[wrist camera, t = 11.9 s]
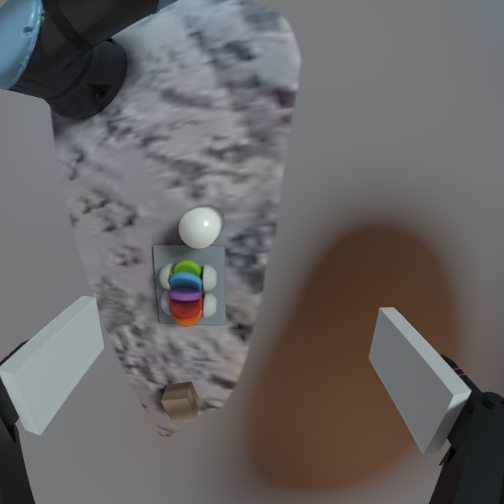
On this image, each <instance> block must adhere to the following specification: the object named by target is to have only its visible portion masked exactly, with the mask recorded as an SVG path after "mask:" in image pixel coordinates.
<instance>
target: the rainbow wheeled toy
mask: <svg viewBox="0 0 504 504" xmlns="http://www.w3.org/2000/svg"><path fill="white" fill-rule="evenodd" d="M159 281H160V284H161V285H162V286H163V287H164V288H165V289H167V291H165V292H164V293H163V294H162V296H161V308H162V309H163V311H164V312H165V313H167V314H169V315H172V317H173V318H174V320H175V321H176V322H177V323H178V324H180V325H182V326H191V325H194V324H195V323H197V322H198V321H199V319H200V318H201V315H203V318H209V317H211V316H213V315H214V314H215V313H216V307H217V299H216V298H215V296H214V295H213V294H211V293H209V292H208V291H211V290H212V289H214V288H215V286H216V284H217V272H216V270H215V269H214V268H213V267H212V266H210V265H207V264H205V265H204V269H203V277H202V268H201V267H200V266H199V265H198V264H197V263H196V262H194V261H192V260H189V259H185V260H181V261H179V262H178V263H177V264H176V265H175V267H174V265H173V264H172V263H170V264H167V265H165V266H164V267H163V268H162V269H161V270H160V273H159ZM202 290H203V291H204V292H205V295H204V297H202Z"/></svg>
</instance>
